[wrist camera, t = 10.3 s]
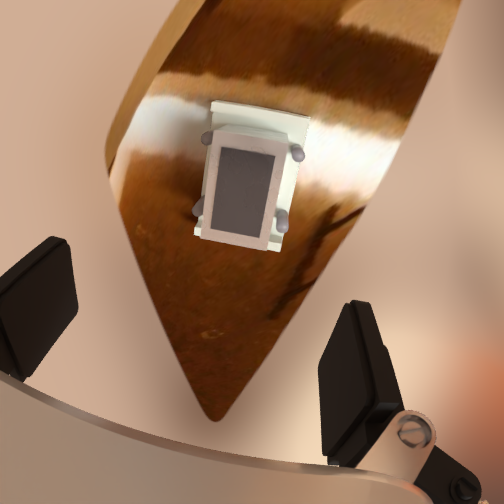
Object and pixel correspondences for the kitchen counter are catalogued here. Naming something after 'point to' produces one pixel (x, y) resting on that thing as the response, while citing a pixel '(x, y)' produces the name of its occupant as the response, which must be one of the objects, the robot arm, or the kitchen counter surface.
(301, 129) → the tray
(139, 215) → the kitchen counter surface
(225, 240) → the box
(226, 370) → the kitchen counter surface
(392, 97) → the kitchen counter surface
